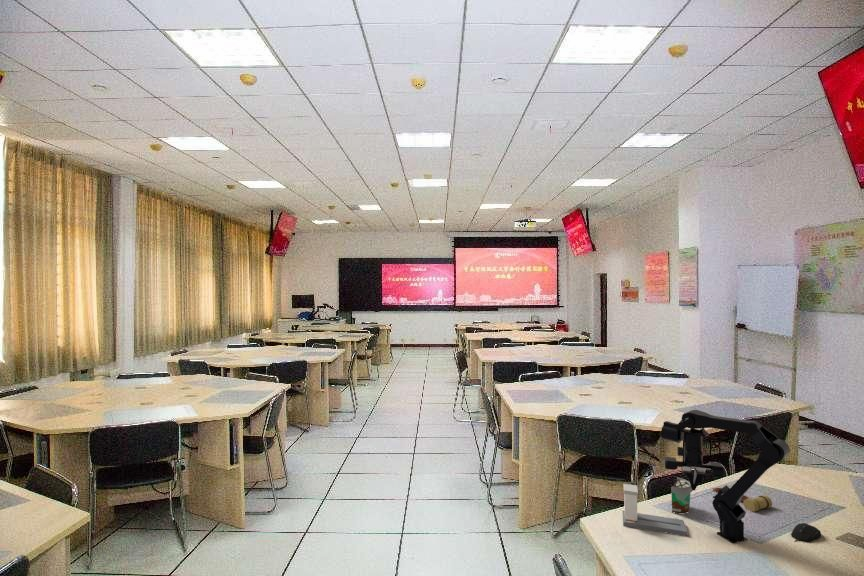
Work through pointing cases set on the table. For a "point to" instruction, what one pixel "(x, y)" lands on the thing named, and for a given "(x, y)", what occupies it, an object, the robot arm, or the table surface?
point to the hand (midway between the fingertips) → (693, 490)
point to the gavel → (754, 502)
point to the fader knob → (630, 501)
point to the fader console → (657, 524)
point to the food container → (681, 496)
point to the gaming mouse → (805, 533)
